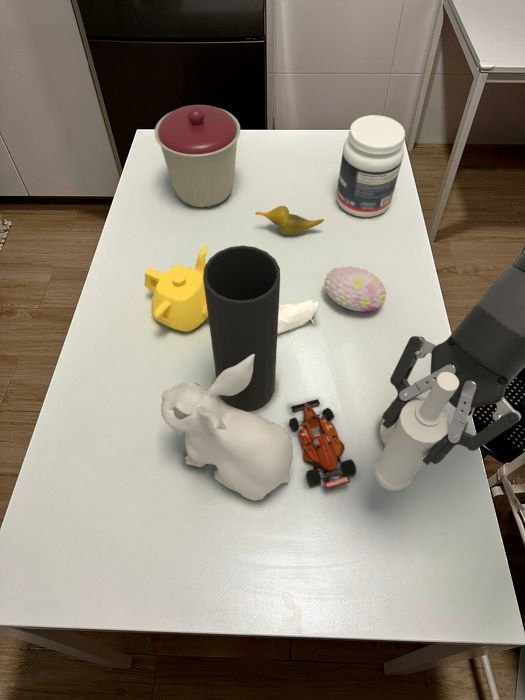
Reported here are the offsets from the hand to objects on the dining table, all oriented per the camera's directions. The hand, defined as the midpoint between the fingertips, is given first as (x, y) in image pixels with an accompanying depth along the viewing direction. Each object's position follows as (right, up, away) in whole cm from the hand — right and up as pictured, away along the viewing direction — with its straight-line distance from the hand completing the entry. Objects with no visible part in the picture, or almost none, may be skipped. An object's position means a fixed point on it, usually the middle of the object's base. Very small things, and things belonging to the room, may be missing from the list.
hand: (406, 443), depth 58 cm
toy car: (-6, -6, +29) cm, 30 cm away
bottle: (+1, -6, +12) cm, 13 cm away
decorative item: (+2, +20, +47) cm, 51 cm away
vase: (-19, +4, +35) cm, 40 cm away
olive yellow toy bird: (-10, +37, +58) cm, 69 cm away
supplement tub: (+7, +45, +63) cm, 78 cm away
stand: (+8, -4, +30) cm, 31 cm away
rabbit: (-21, -8, +28) cm, 36 cm away
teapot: (-31, +19, +45) cm, 58 cm away
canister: (-30, +48, +65) cm, 86 cm away
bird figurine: (-11, +15, +43) cm, 47 cm away
